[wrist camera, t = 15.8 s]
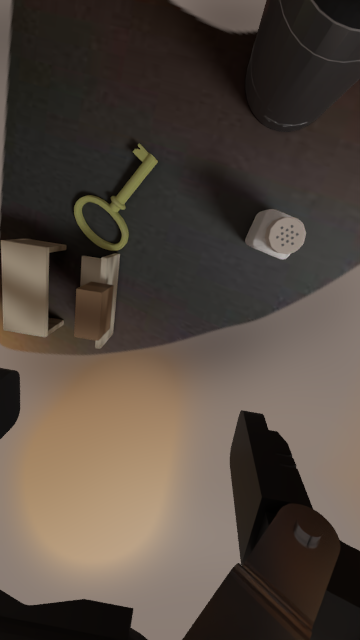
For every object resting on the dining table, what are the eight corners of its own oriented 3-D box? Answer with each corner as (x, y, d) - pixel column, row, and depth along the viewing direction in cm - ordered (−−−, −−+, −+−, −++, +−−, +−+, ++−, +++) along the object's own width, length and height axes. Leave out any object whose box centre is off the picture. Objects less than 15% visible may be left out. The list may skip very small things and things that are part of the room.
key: (163, 157, 34) (160, 153, 32) (122, 256, 38) (117, 258, 36) (104, 127, 34) (98, 120, 31) (69, 230, 37) (61, 231, 35)
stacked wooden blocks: (84, 248, 37) (46, 254, 28) (127, 255, 37) (103, 264, 28) (79, 328, 40) (45, 356, 31) (120, 334, 40) (96, 365, 31)
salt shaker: (257, 210, 34) (277, 203, 25) (289, 223, 35) (319, 222, 26) (242, 243, 36) (255, 248, 27) (273, 256, 36) (296, 266, 27)
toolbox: (26, 238, 37) (0, 240, 33) (66, 245, 37) (46, 247, 32) (26, 318, 41) (3, 330, 36) (63, 324, 40) (45, 337, 36)
